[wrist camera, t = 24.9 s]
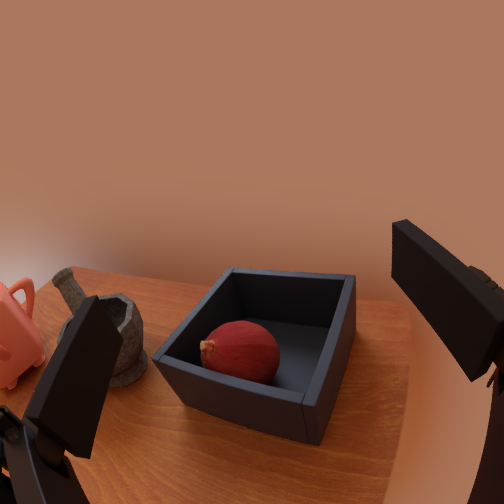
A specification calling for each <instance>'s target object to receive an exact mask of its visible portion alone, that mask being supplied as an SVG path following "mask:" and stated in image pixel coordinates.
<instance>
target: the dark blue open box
mask: <svg viewBox="0 0 504 504" xmlns="http://www.w3.org/2000/svg"><path fill="white" fill-rule="evenodd" d="M242 320H244V321H248V322H252V323H255V324H258V325H260V326H262V327H263V328H265V329H266V330H267V331H268V332H269V333H270V334H271V335H272V336H273V337H274V339H275V341H276V343H277V345H278V348H279V351H280V364H279V367H278V370H277V373H276V375H275V376H274V377H273V378H272V380H271V381H270V382H269V383H268V384H267V385H264V384H260V383H256V382H252V381H248V380H244V379H240V378H236V377H233V376H229V375H226V374H222V373H219V372H215V371H212V370H209V369H205V368H203V365H202V360H201V349H200V343H201V341H205V339H206V338H207V337H208V336H209V335H210V333H211V332H212V331H214V330H215V329H217V328H218V327H220V326H221V325H223V324H225V323H228V322H235V321H242ZM355 330H356V276H355V275H344V274H324V273H307V272H290V271H273V270H257V269H241V268H228V269H227V270H226V271H225V272H224V274H223V275H222V276H221V277H220V278H219V280H218V281H217V282H216V283H215V284H214V285H213V286H212V288H211V289H210V290H209V291H208V292H207V293H206V295H205V296H204V297H203V298H202V299H201V300H200V302H199V303H198V304H197V305H196V306H195V307H194V309H193V310H192V311H191V312H190V313H189V314H188V316H187V317H186V318H185V319H184V320H183V321H182V323H181V324H180V325H179V326H178V327H177V328H176V330H175V331H174V332H173V333H172V334H171V335H170V337H169V338H168V339H167V340H166V341H165V342H164V344H163V345H162V346H161V347H160V348H159V350H158V351H157V352H156V353H155V354H154V355H153V357H152V358H151V359H152V361H153V362H154V364H155V365H156V367H157V368H158V369H159V371H160V372H161V374H162V375H163V377H164V378H165V379H166V381H167V382H168V383H169V385H170V386H171V388H172V389H173V390H174V392H175V393H176V394H177V396H178V397H179V398H180V399H181V401H182V402H183V403H184V404H186V405H188V406H191V407H193V408H196V409H198V410H201V411H203V412H206V413H208V414H211V415H214V416H216V417H219V418H222V419H224V420H227V421H230V422H233V423H236V424H239V425H242V426H245V427H248V428H251V429H255V430H258V431H261V432H265V433H268V434H272V435H276V436H279V437H283V438H287V439H291V440H295V441H299V442H304V443H308V444H313V445H318V446H319V445H320V443H321V441H322V438H323V435H324V433H325V430H326V427H327V424H328V422H329V419H330V416H331V413H332V410H333V407H334V404H335V401H336V398H337V395H338V392H339V389H340V385H341V382H342V379H343V375H344V372H345V368H346V365H347V361H348V358H349V354H350V350H351V346H352V343H353V339H354V335H355Z"/></svg>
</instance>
